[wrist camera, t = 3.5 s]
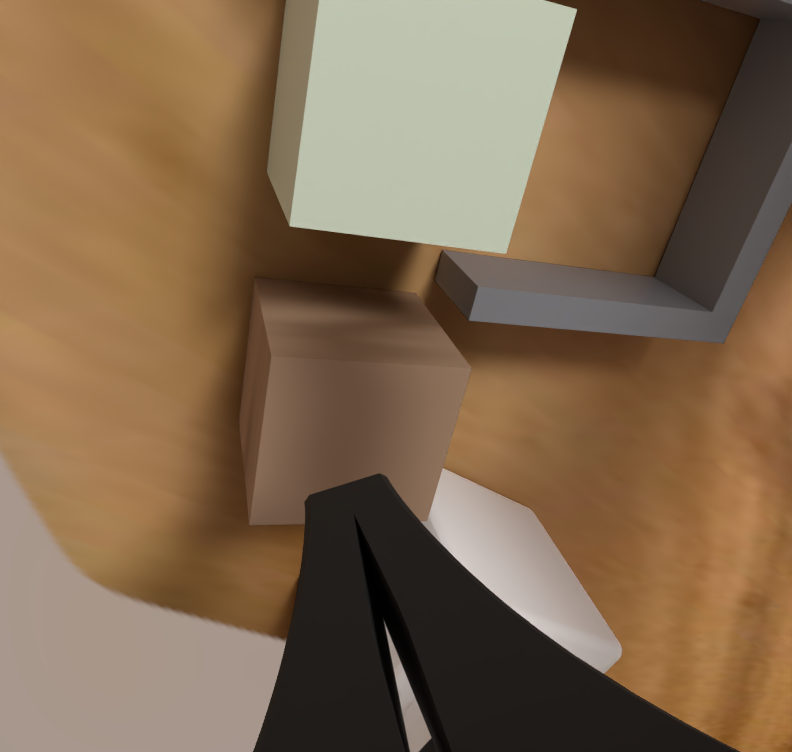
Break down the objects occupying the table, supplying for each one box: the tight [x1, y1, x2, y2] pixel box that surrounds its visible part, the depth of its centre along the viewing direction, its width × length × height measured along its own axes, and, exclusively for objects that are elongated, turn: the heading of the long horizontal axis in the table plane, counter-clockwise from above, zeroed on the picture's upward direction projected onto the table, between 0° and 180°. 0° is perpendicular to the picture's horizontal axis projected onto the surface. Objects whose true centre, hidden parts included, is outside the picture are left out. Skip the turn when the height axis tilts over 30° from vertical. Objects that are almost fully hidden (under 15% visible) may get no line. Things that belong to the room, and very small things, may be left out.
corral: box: [435, 0, 792, 343], centre depth 18 cm, size 9×10×3 cm
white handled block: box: [384, 468, 622, 752], centre depth 21 cm, size 7×7×12 cm
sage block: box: [267, 0, 577, 254], centre depth 15 cm, size 5×5×5 cm
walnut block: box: [239, 277, 472, 525], centre depth 19 cm, size 5×5×5 cm
